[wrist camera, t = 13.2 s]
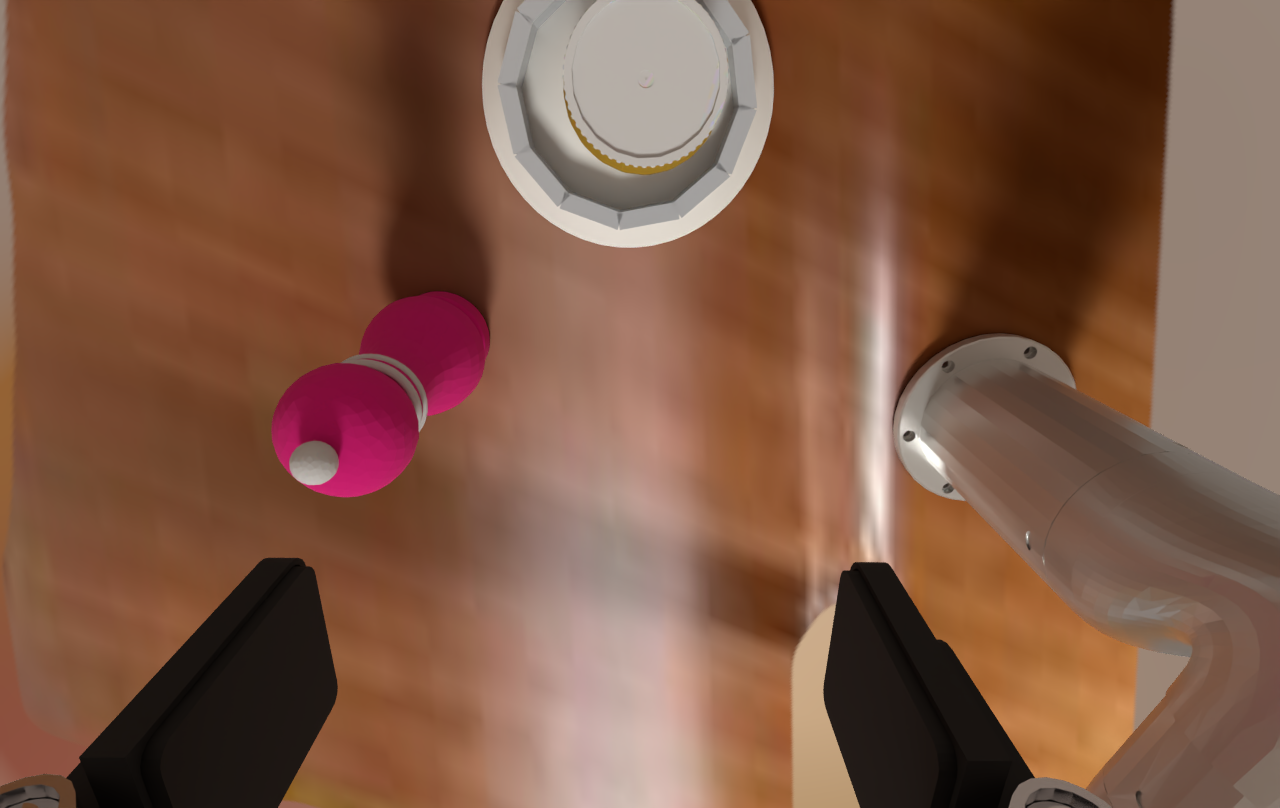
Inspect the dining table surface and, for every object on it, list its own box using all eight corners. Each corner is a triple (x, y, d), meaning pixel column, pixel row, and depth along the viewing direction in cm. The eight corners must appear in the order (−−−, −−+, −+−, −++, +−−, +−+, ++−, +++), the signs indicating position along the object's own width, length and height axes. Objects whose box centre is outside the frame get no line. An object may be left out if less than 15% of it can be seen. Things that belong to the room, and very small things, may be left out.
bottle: (618, 190, 39) (612, 213, 25) (557, 79, 37) (513, 37, 23) (719, 129, 38) (772, 118, 24) (663, 11, 36) (684, -78, 22)
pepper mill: (418, 262, 42) (246, 349, 23) (516, 320, 43) (429, 447, 24) (372, 352, 44) (181, 498, 25) (467, 404, 45) (353, 580, 27)
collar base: (825, 119, 39) (840, 117, 36) (614, 298, 43) (612, 308, 40) (646, -149, 34) (648, -176, 31) (425, 81, 38) (409, 75, 35)
